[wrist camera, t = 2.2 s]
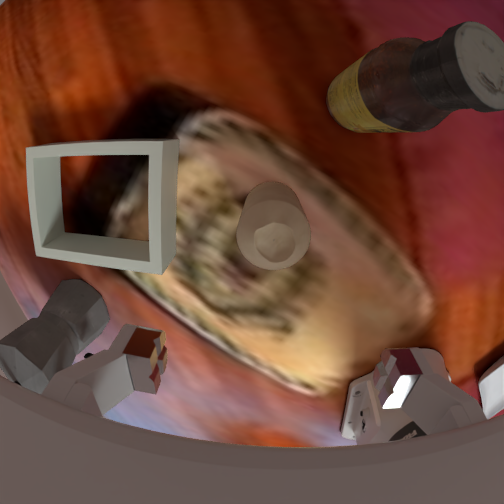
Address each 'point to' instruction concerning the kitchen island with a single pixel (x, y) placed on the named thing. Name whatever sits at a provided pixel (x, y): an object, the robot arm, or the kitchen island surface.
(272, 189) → the candle
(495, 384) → the salad plate
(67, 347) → the coffeepot
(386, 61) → the sauce bottle
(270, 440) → the kitchen island surface
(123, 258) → the grey rectangular frame
